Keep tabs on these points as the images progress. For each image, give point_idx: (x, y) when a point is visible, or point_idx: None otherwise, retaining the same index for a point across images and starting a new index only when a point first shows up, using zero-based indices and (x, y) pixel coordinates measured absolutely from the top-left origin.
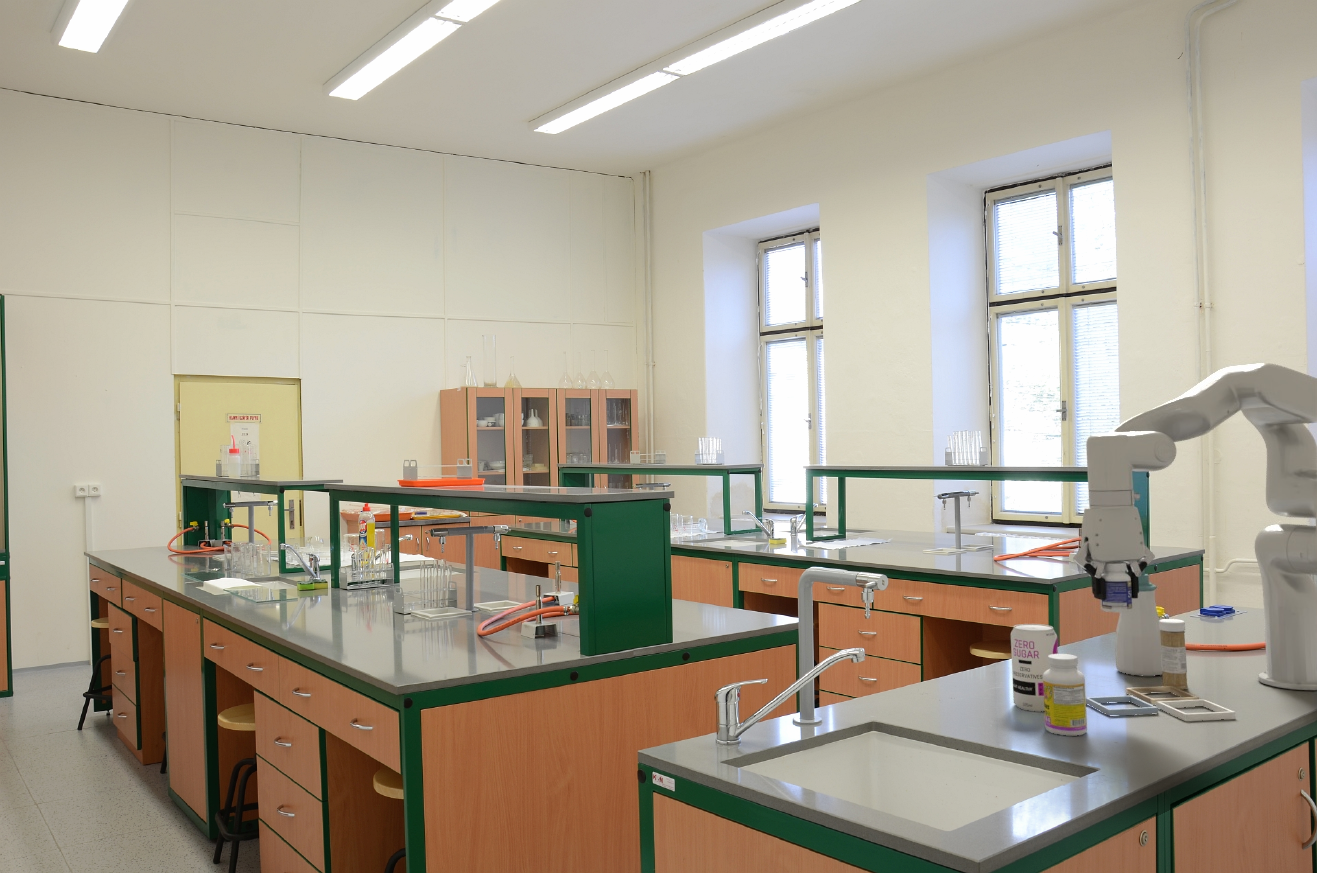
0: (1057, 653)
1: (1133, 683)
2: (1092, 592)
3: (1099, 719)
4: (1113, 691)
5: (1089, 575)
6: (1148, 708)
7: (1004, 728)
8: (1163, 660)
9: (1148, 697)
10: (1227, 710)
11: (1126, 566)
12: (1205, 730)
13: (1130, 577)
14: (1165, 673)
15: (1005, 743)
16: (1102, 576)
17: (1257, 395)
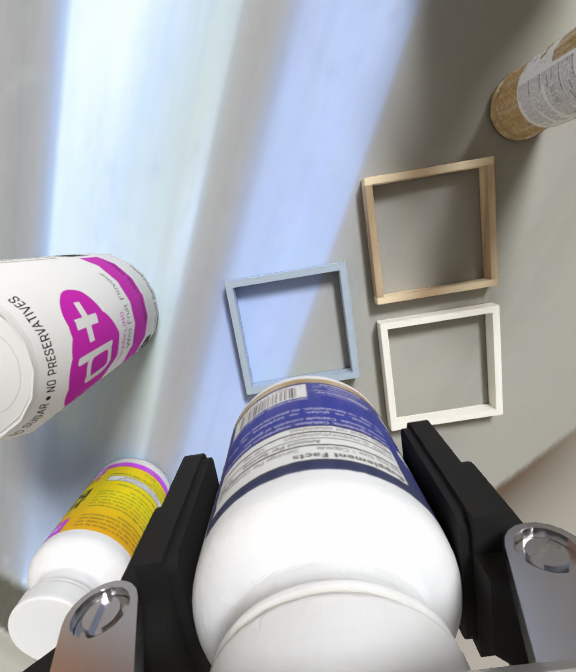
0: (95, 373)
1: (433, 36)
2: (157, 509)
3: (222, 407)
4: (340, 142)
5: (85, 606)
6: (337, 380)
7: (19, 468)
8: (538, 83)
9: (378, 284)
10: (495, 398)
11: (526, 649)
12: None
13: (463, 610)
14: (515, 103)
15: (14, 554)
16: (201, 642)
17: None
